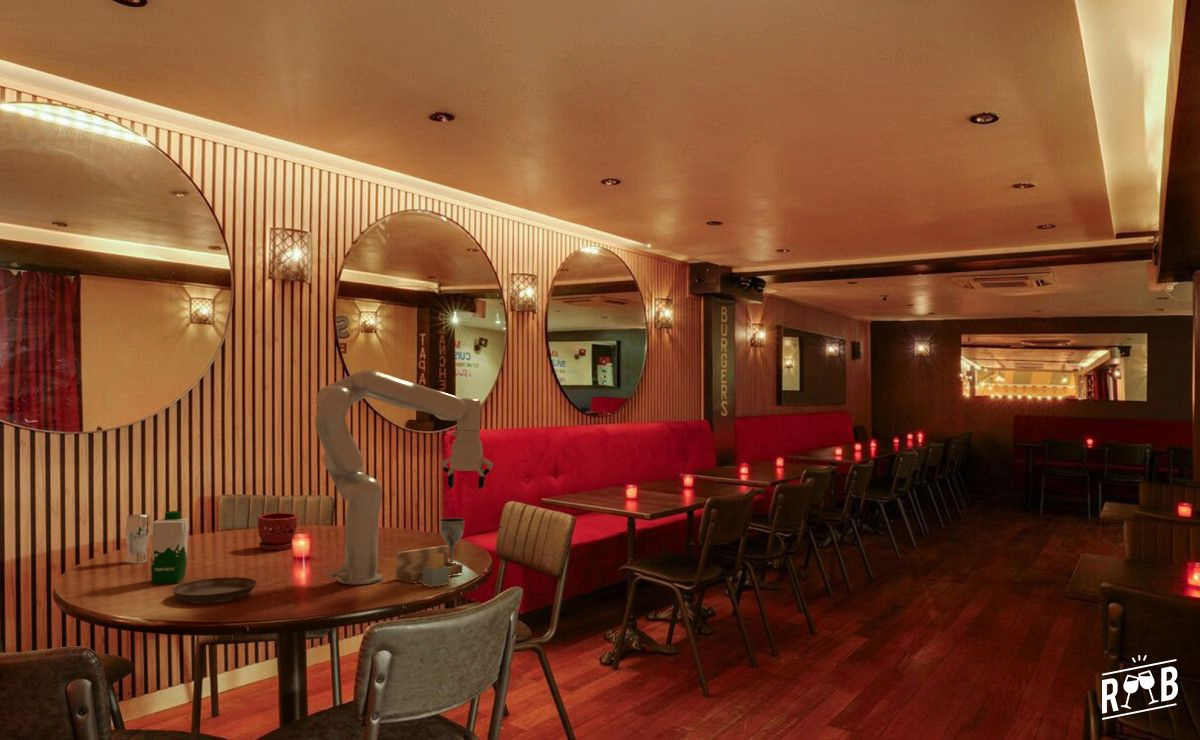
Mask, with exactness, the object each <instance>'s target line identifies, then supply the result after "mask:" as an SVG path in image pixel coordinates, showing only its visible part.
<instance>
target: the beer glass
mask: <svg viewBox="0 0 1200 740" xmlns="http://www.w3.org/2000/svg"><path fill="white" fill-rule="evenodd" d="M151 523H152V522H151V514H146V513H145V514H144V513H143V514H130V515H127V516H126V523H125V540H126V548H127V554H126V558H125V563H126V564H129V565H130V564H131V565H132V564H135V565H136V564H141V563H143V564H144V563H146V562H148V555H147V551H148V550H147V549H148V544H149V539H150V536H151V535H150V534H151V526H152V525H151Z"/></svg>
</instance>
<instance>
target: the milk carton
mask: <svg viewBox="0 0 1200 740" xmlns="http://www.w3.org/2000/svg"><path fill="white" fill-rule="evenodd" d="M181 513H182V512H181V511H178V510H173V511H172V510H169V511H166V512H165V513H164V518H159V519H156V520H154V521H153V522H152V530H151V531H152V540H151V556H150V557H151V558H150V559H151V560H150V561H151V562H150V563H151V564H150V567H151V568H150V570H151V572H150V574H151V575H150V579H151V580H150V582H151V585H167V584H170V585H171V584H173V585H174V584H179V583H180V582H181V581H183V580H184V579H185V576H186V569H187V562H188V561H187V559H188V541H189V540H188V539H189V537H188V534H189V517H182V516H181Z"/></svg>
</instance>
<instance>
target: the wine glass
mask: <svg viewBox="0 0 1200 740" xmlns="http://www.w3.org/2000/svg"><path fill="white" fill-rule="evenodd" d="M439 522H440V523H439V525H440V526H439V527H440V533H441V537H442V539H443V540H444V541H445V543H446V545H448V546H449V553H450V554H449V556H450V558H449V560H448V561H449V562H455V561H454V560H453V556H454V549H455V546H456V545H457V543H458V542H459V541H460V539H461V538H463V534H464V530H465V518H462V517H445V518H441V519H440V521H439Z"/></svg>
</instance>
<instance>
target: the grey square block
mask: <svg viewBox="0 0 1200 740" xmlns="http://www.w3.org/2000/svg"><path fill="white" fill-rule="evenodd" d="M422 583H424V584H427V585H430V586H435V585H440V584H444V583H449V584H450V577H449V567H446V566H444V554H443V553H435V554H429V567H424V568H423V580H422V582H421V584H422Z"/></svg>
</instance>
